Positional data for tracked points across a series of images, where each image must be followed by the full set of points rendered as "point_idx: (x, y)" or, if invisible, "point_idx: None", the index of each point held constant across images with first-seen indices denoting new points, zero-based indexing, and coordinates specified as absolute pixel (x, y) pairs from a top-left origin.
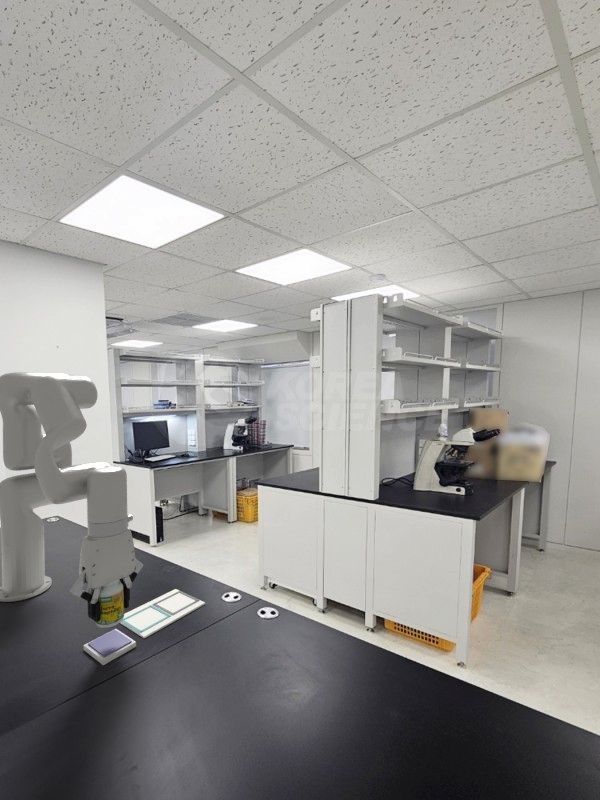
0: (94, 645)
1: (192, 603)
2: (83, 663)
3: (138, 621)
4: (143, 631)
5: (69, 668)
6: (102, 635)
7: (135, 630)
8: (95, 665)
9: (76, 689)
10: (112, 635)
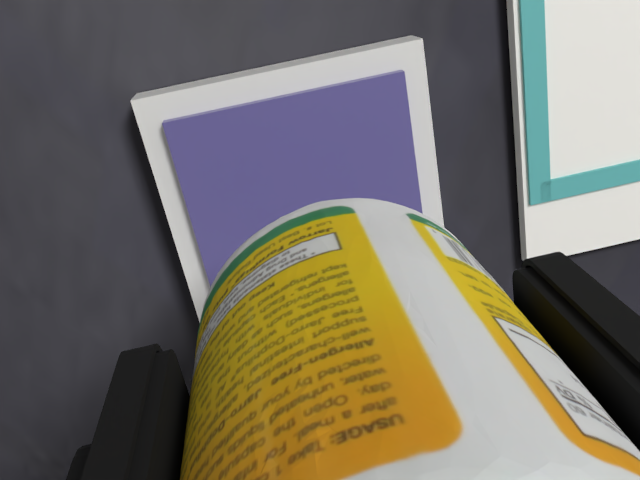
0: (201, 194)
1: None
2: (112, 260)
3: (611, 22)
4: (558, 199)
5: (18, 253)
6: (297, 67)
7: (527, 144)
8: (177, 328)
9: (46, 460)
10: (357, 152)
